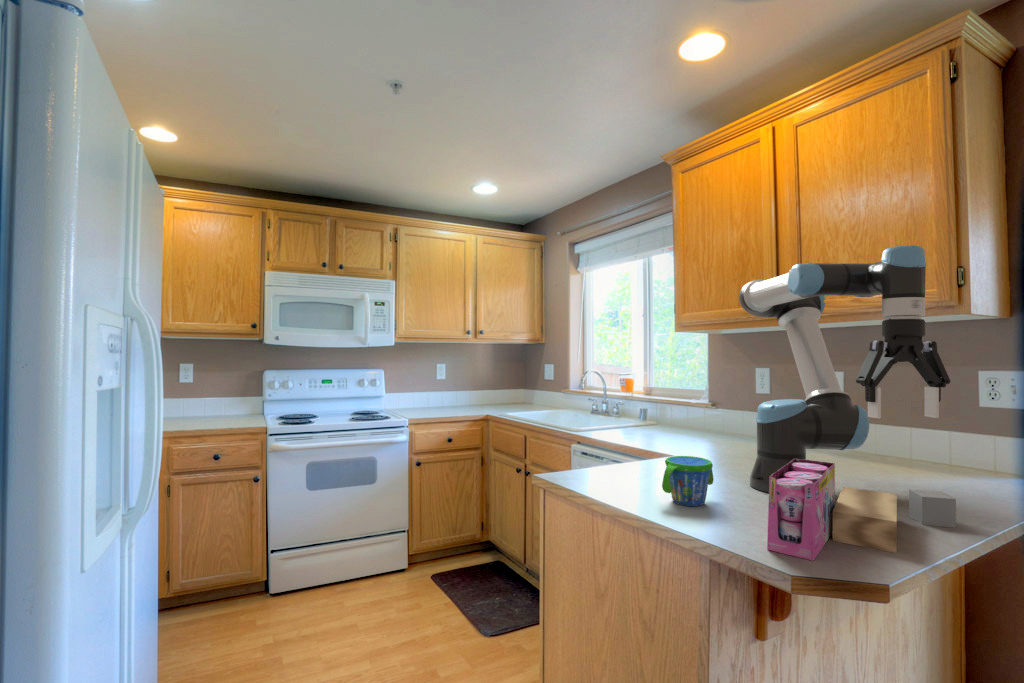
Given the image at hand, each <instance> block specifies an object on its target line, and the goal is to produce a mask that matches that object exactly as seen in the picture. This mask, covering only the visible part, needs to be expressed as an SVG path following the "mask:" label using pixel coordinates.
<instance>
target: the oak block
mask: <svg viewBox="0 0 1024 683" xmlns="http://www.w3.org/2000/svg"><path fill="white" fill-rule="evenodd" d="M835 502H836V503H835V507H834V509H833V533H832V541H833V542H838V543H842V544H848V545H854V546H858V547H864V548H870V549H875V550H880V551H885V552H890V553H895V554H896V553H898V552H897V550H898V548H897V545H898V544H897V543H898V542H897V539H898V494H897V493H891V492H883V491H874V490H868V489H860V488H854V487H848V486H847V487H846V486H842V488H841V491H840V493H839V495H838V498H837V500H836V501H835Z"/></svg>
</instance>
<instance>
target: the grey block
mask: <svg viewBox="0 0 1024 683" xmlns="http://www.w3.org/2000/svg"><path fill="white" fill-rule="evenodd" d="M908 491H909V492H908V493H909V494H908V496H909V498H908V503H909V504H908V506H909V507H908V508H909V514H908V515H909V517H910V518H912V519H913V520H914V521H916V522H917V523H918V524H920V525H921V526H931V525H934V526H933V527H943V526H944V527H946V528H947V527H948V528H957V514H956V513H957V505H956V504H957V500H956V498H954V497H953V496H952V495H949V494H947V493H945V492H942V491H937V490H935V491H934V490H923V489H922V490H921V489H909V490H908ZM944 527H943V528H944Z"/></svg>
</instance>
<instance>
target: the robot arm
mask: <svg viewBox="0 0 1024 683" xmlns="http://www.w3.org/2000/svg"><path fill="white" fill-rule="evenodd" d="M925 252H926V251H925V249H924V247H922V246H920V245H899V246H898V245H897V246H891V247H888V248H885V249H884V250H883V251H882V254H881V259H880V261H876V262H871V263H862V262H861V263H859V262H858V263H855V262H854V263H819V262H817V263H814V262H806V263H797V264H794V265H793V266H792V267H791V269H789V272H787V273H784V274H780V275H778V276H774V277H771V278H769V279H761V278H760V279H754V280H751V281H749V282H746V284H744V285H743V286H742V287H741V290H740V291H739V294H738V302H739V304H740V306H741V308H742V309H743V310H744V312H746V313H748V314H749V315H752V316H754V317H759V318H776V321H777V322H778V324H777V325H778V326H779V327H780V328H782V329H784V330H785V331H786V334H787V337H788V341H789V344H790V348H791V352H792V355H793V358H794V361H795V364H796V368H797V371H798V376H799V377H800V381H801V383H802V384H801V385H802V388H803V390H804V394H805V397H806V398H805V399H798V398H789V399H784V398H783V399H773V400H768V401H764V402H762V403H760V404H759V405H758V406H757V414H756V415H757V416H756V420H755V421H756V459H755V461H754V464H753V467H752V470H751V472H750V475H749V486H750V487H751V488H753V489H754V490H758V491H762V492H766V493H769V477H770V476H771V475H772V474H773V473H775V472H776V471H778V470H779V469H781V468H782V467H784V466H785V465H786V464H788V463H789V462H790V461H792V460H793V459H804V460H807V450H833V451H834V450H835V451H836V450H837V451H845V450H855V449H859V448H861V447H862V445H864V443H865V442H866V441H867V439H868V434H869V432H870V419H869V418H872V419H873V418H874V419H881V418H882V387H878V385H879V384H880V383H881V382H882V380H883V379H884V378H885V376H886V375H887V374H888V372H889V371H890V370H891V369H892V367H893V366H894V365H895V364H897V363H909V364H912V366H913V367H914V368H915V370H916V371H917V372H918V374H919V375H920V377H921V378H922V379H923V380H924V382H925V383H926V384H927V385H928V386H924V394H923V395H924V396H923V397H924V401H923V402H924V403H923V404H924V409H923V412H924V414H923V416H924V417H927V418H933V419H939V417H940V414H939V413H940V407H939V406H940V402H941V400H942V395H941V394H942V392H941V391H942V388H946V386H947V385H949V384H950V383H951V379H950V376H949V374H948V372H947V370H946V368H945V366H944V364H943V361H942V359H941V356H940V354H939V352H938V346H937V344H938V343H937V342H936V341H934V340H931V341H930V340H929V341H928V340H925V341H924V340H923V337H925V336H926V320H925V319H923V318H922V317H925V316H926V276H927V275H926V273H927V272H926V271H927V269H926V267H927V263H926V255H925V254H926V253H925ZM880 295H881V317H882V318H884V319H883V320H882V321H881V335H882V337H884V341H883V340H871V341H870V342H869V347H868V353H867V355H866V357H865V359H864V361H863V363H862V366H861V367H860V370H859V372H858V374H857V377H856V378H855V383H857V384H860V385H861V386H862V387H864V396H865V397H864V398H865V402H867V411H866V409H865V408H864V407H863V406H861V405H858V404H853V401H852V399H851V395H850V394H849V393H847V392H846V391H845V392H844V391H842V389H841V386H840V383H839V381H838V377H837V375H836V373H835V372H836V371H835V368H834V366H833V363H832V360H831V357H830V355H829V351H828V348H827V345H826V342H825V339H824V337H823V334H822V331H821V328H820V326H819V322H818V321H819V320H820V318H821V317H822V314H823V312H824V311H825V306H826V303H825V300H826V296H846V297H847V296H849V297H850V296H853V297H856V298H873V297H875V296H880Z"/></svg>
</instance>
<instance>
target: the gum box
mask: <svg viewBox="0 0 1024 683" xmlns="http://www.w3.org/2000/svg"><path fill="white" fill-rule="evenodd" d="M835 465H836V464H835V462H829V461H820V460H809V459H806V460H804V459H793V460H792V461H790V462H789V463H788V464H786V465H785V466H784V467H782V468H781V469H779V470H778V471H776V472H775V473H773V474H772V475H771V476H770V477H769V492H768V511H767V512H768V513H767V542H766V543H767V544H766V546H767V551H768V550H769V551H772V552H776V553H780V554H784V555H787V556H791V557H796V558H800V559H801V558H802V559H804V560H805V559H806V560H808V561H815V559H816V557H817V556H818V555H819V553H821V550H822V549H823V547H824V546H825V545H826V543H827V542H828V540H829V538H830V537H831V536H832V535H833V509H834V507H835V505H836V503H835V502H836V497H835V495H836V490H835V488H836V486H835V485H836V481H835V480H836V478H835V476H836V474H835V472H836V471H835V470H836V469H835V468H836V466H835Z"/></svg>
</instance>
